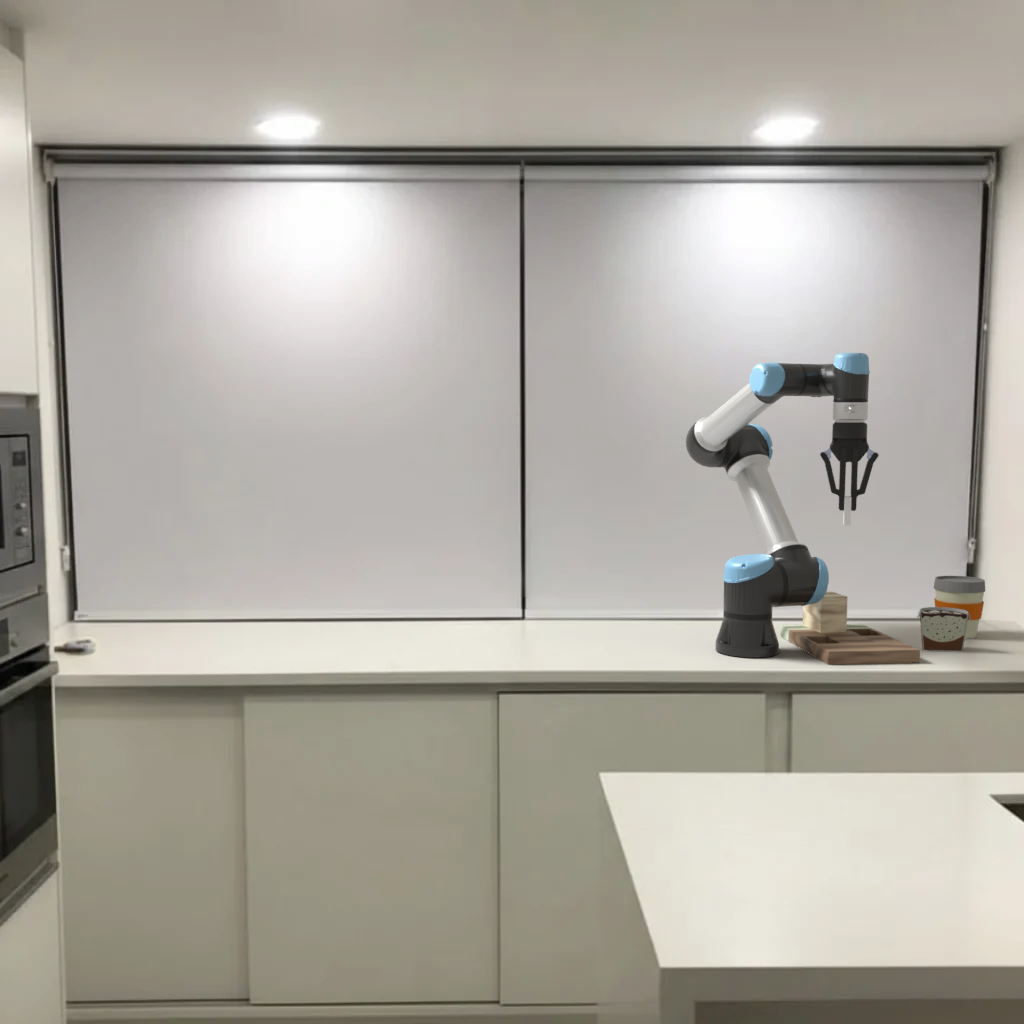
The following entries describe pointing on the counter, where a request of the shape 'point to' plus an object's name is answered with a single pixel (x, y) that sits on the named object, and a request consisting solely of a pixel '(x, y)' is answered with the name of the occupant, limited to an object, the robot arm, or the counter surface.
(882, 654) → the board
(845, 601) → the block
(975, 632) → the reusable coffee cup
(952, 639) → the food container
